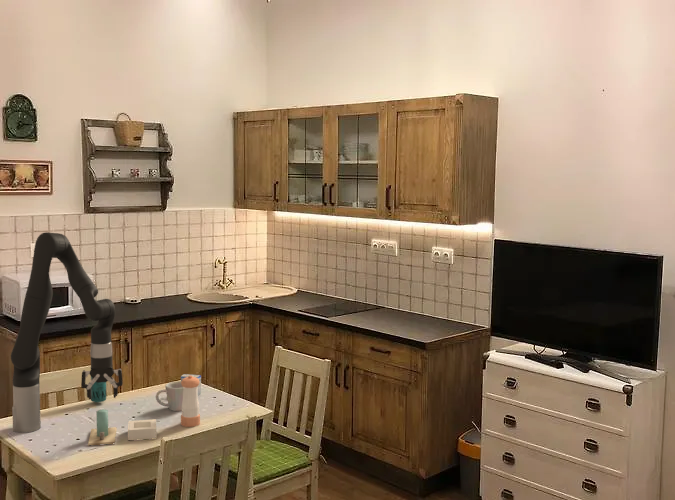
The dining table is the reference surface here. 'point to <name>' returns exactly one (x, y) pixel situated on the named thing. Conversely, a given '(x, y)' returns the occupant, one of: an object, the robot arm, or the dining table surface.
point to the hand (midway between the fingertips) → (102, 397)
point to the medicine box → (196, 377)
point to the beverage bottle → (98, 392)
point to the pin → (102, 422)
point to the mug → (172, 395)
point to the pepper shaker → (190, 402)
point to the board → (107, 438)
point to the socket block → (142, 429)
